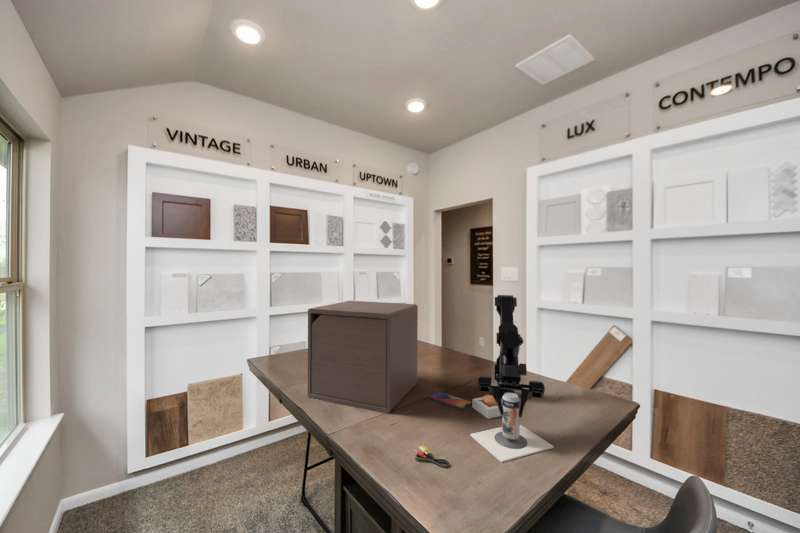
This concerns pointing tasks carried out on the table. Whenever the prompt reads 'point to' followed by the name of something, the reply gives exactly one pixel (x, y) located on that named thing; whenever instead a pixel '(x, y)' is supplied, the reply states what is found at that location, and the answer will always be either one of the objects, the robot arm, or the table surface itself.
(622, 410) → the table surface
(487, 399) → the button
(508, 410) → the beer can
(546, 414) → the table surface
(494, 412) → the button housing
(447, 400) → the smartphone
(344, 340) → the storage cube
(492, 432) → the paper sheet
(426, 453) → the composite cable
